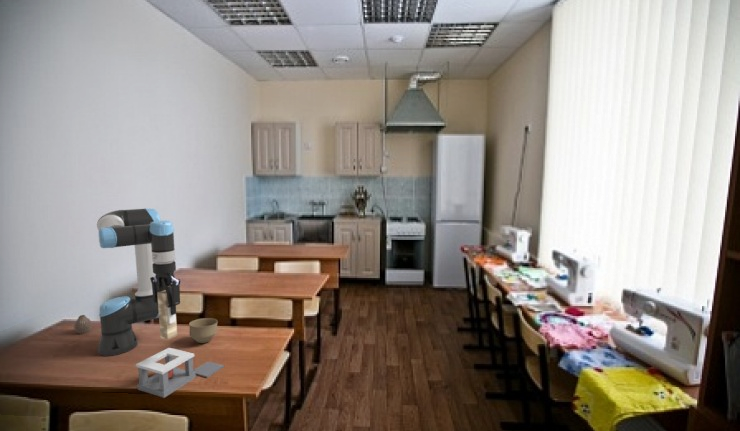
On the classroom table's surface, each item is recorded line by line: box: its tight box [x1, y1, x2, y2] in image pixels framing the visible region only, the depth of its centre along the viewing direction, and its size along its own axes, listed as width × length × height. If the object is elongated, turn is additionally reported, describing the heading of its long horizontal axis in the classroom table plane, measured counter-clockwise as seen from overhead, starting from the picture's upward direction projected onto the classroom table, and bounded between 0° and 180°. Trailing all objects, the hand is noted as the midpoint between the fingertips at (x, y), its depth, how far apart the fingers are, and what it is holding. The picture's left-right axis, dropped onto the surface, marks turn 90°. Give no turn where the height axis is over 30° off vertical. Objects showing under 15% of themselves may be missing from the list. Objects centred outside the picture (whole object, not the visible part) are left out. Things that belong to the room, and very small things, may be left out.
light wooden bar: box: [157, 290, 178, 341], centre depth 135 cm, size 4×4×18 cm
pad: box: [193, 361, 225, 379], centre depth 146 cm, size 9×9×1 cm
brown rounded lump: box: [73, 314, 92, 335], centre depth 182 cm, size 7×7×9 cm
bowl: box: [188, 317, 218, 344], centre depth 172 cm, size 13×13×10 cm
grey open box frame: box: [135, 347, 197, 399], centre depth 136 cm, size 14×14×10 cm
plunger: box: [168, 369, 174, 380], centre depth 137 cm, size 4×4×5 cm
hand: (167, 321), depth 135 cm, fingers closed on light wooden bar, 4 cm apart
